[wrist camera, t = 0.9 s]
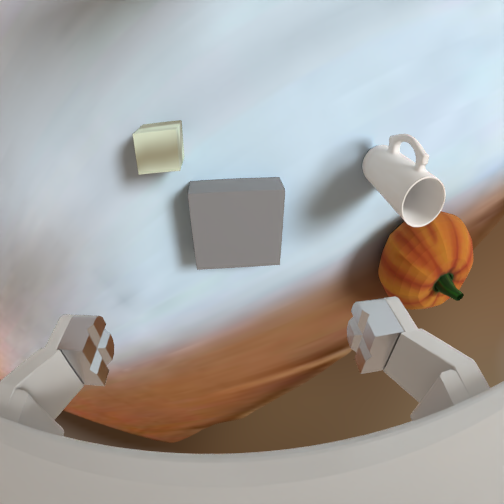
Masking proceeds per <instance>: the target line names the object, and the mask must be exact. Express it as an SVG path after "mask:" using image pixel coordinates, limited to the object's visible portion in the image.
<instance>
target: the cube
mask: <svg viewBox="0 0 504 504" xmlns="http://www.w3.org/2000/svg"><path fill="white" fill-rule="evenodd" d="M133 140H134V147H135V154H136V161H137V167H138V173H139V175H140V174H149V173H159V172H170V171H180V169H181V166H182V163H183V160H184V147H183V134H182V121H181V120H179V121H169V122H160V123H152V124H144V125H142V126H141V127H140V128H139V129H138V130H137V131H136V132H135V133H134V134H133Z"/></svg>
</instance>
